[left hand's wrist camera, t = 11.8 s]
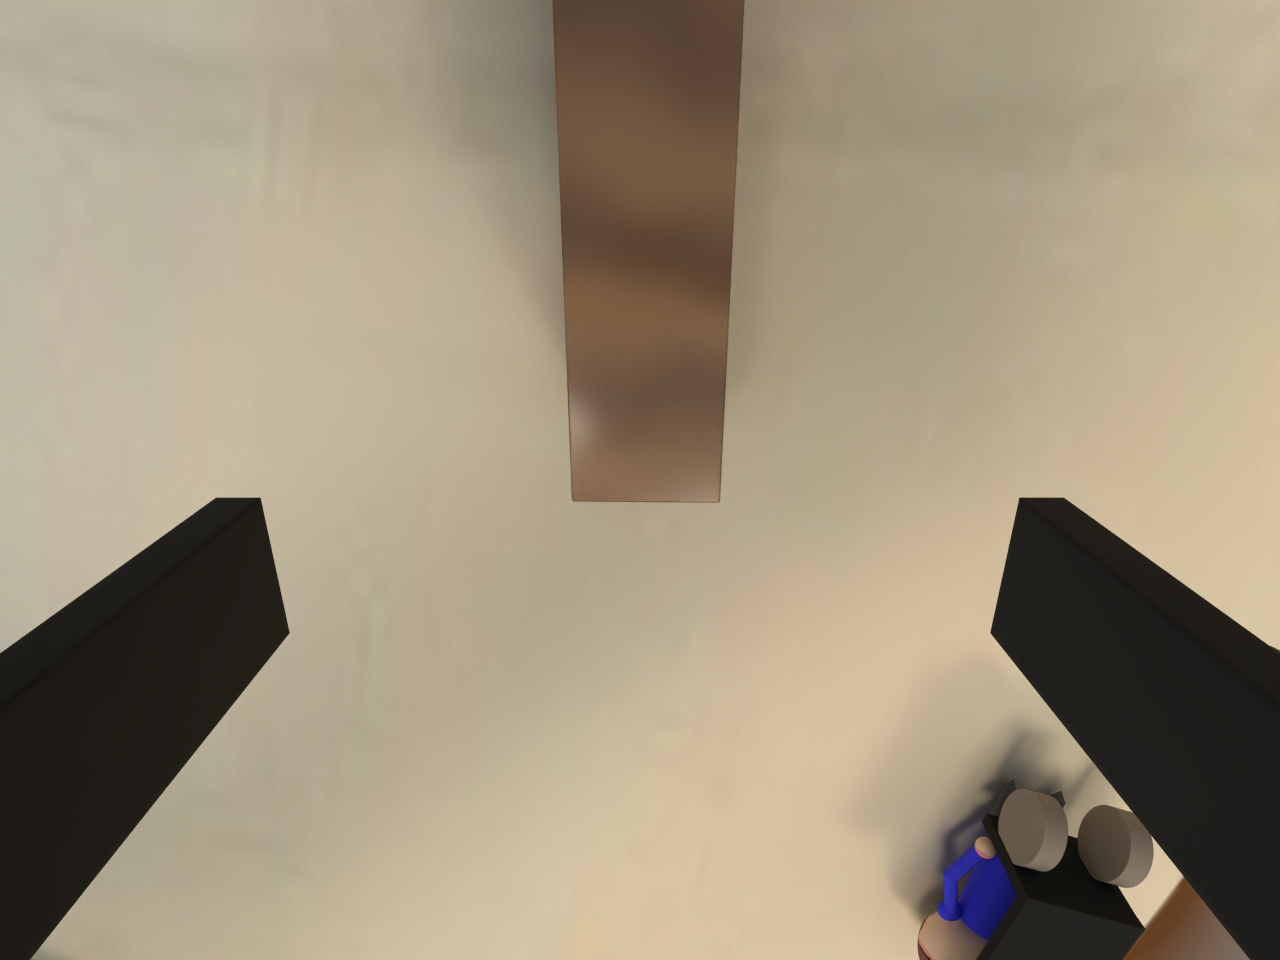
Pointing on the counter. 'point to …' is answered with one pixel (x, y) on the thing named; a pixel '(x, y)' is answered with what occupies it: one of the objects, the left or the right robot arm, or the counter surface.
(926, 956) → the figurine character
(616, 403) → the beam
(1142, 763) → the left robot arm
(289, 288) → the counter surface
